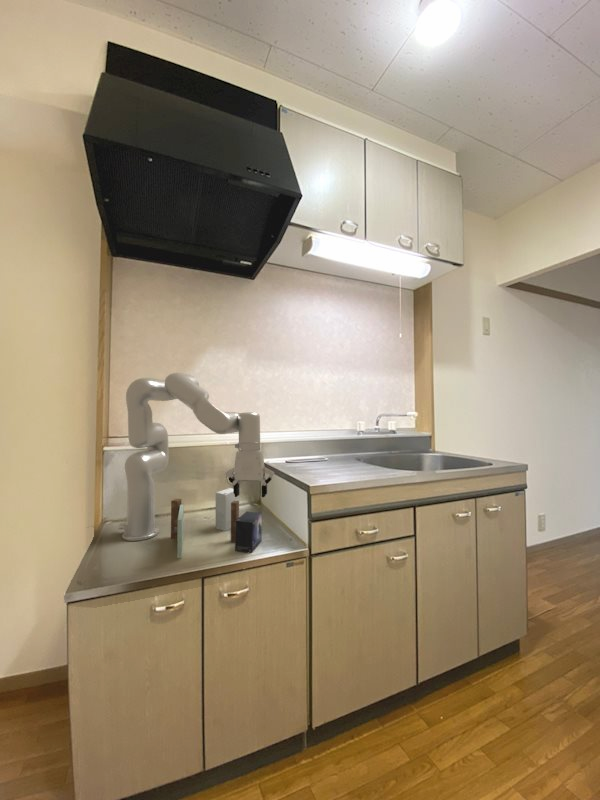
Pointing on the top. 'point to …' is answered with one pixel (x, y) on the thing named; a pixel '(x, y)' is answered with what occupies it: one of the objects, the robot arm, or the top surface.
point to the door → (180, 530)
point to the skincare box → (224, 508)
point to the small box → (248, 532)
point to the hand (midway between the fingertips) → (250, 496)
